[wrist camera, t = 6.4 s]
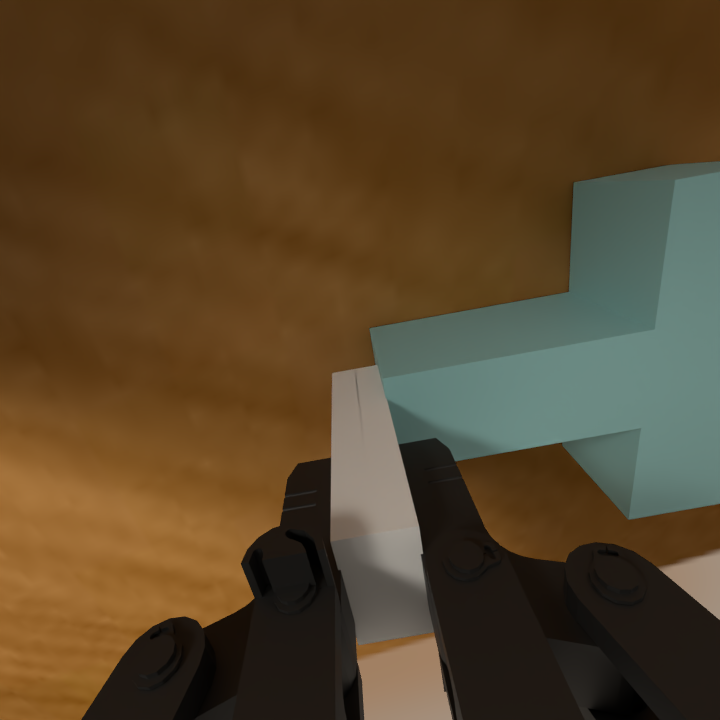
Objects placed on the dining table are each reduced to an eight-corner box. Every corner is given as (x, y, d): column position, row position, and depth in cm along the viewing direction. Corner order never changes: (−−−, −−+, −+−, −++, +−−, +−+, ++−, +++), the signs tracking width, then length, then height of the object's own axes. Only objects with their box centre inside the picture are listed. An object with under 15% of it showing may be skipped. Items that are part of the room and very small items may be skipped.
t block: (394, 475, 16) (411, 557, 13) (351, 223, 12) (359, 238, 9) (634, 432, 16) (721, 503, 13) (669, 164, 12) (812, 154, 9)
